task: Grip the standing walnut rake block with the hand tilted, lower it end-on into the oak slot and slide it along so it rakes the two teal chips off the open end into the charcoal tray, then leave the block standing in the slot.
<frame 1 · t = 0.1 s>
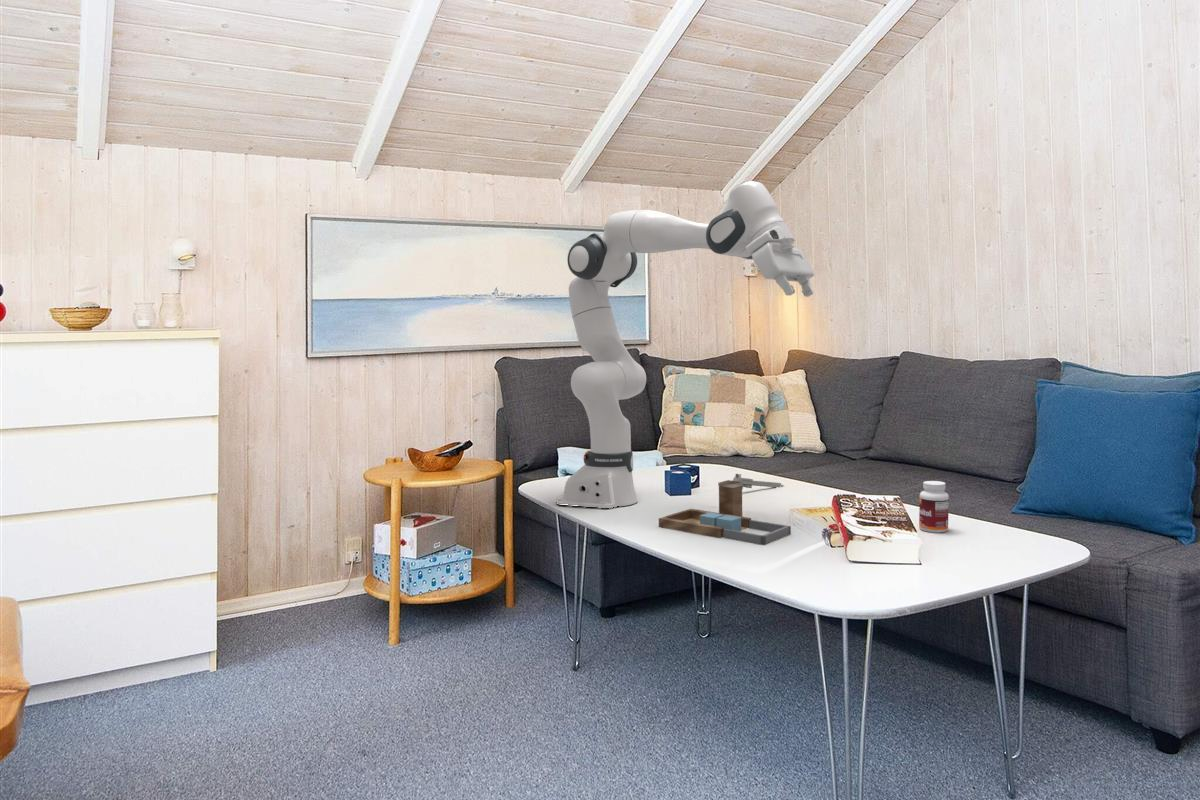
hand: (800, 294, 179), 54 cm above the table, tool tilted 30°, fingers open, 8 cm apart
caliper: (758, 492, 231), on the table
chip1: (711, 527, 183), point 1 cm above the table, touching slot board
pill bottle: (933, 530, 182), on the table
tray: (757, 541, 175), on the table
slot board: (704, 531, 184), on the table
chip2: (728, 530, 180), point 1 cm above the table, touching slot board
rake block: (730, 522, 192), on the table
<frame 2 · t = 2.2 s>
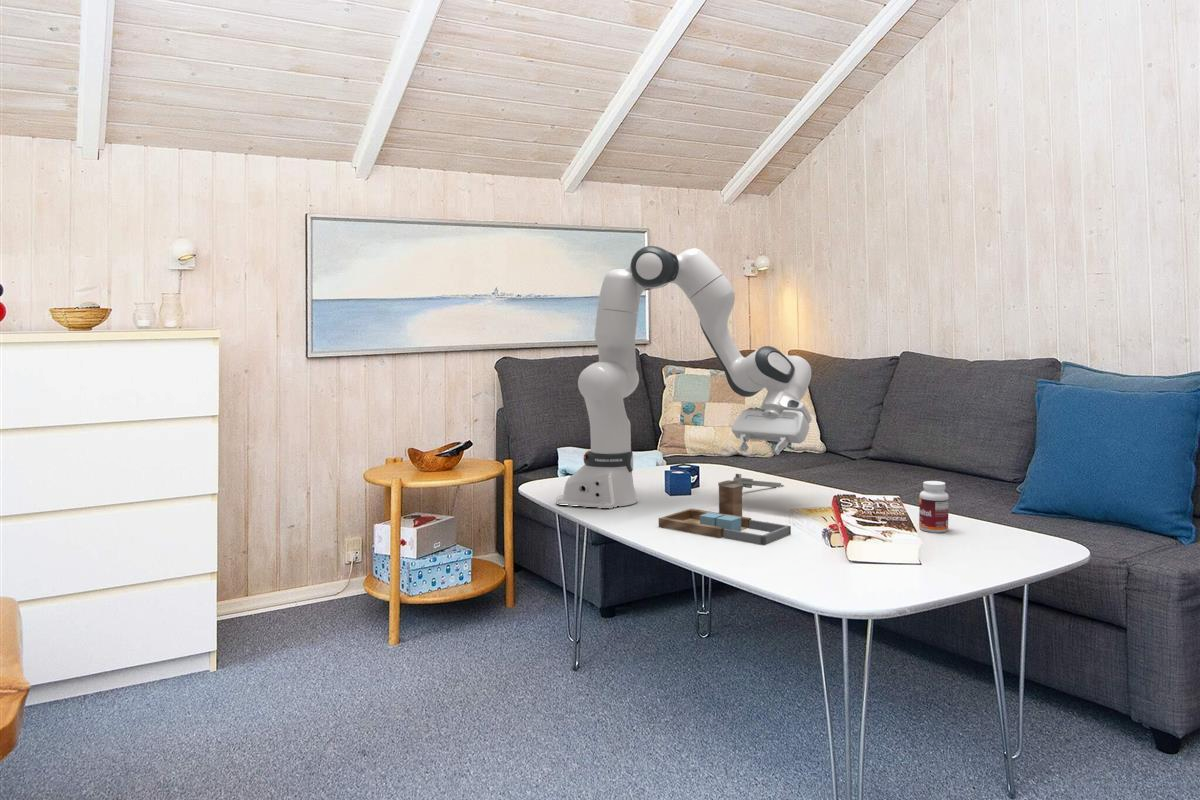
hand: (758, 451, 200), 16 cm above the table, tool tilted 45°, fingers open, 8 cm apart
nothing on the table moved.
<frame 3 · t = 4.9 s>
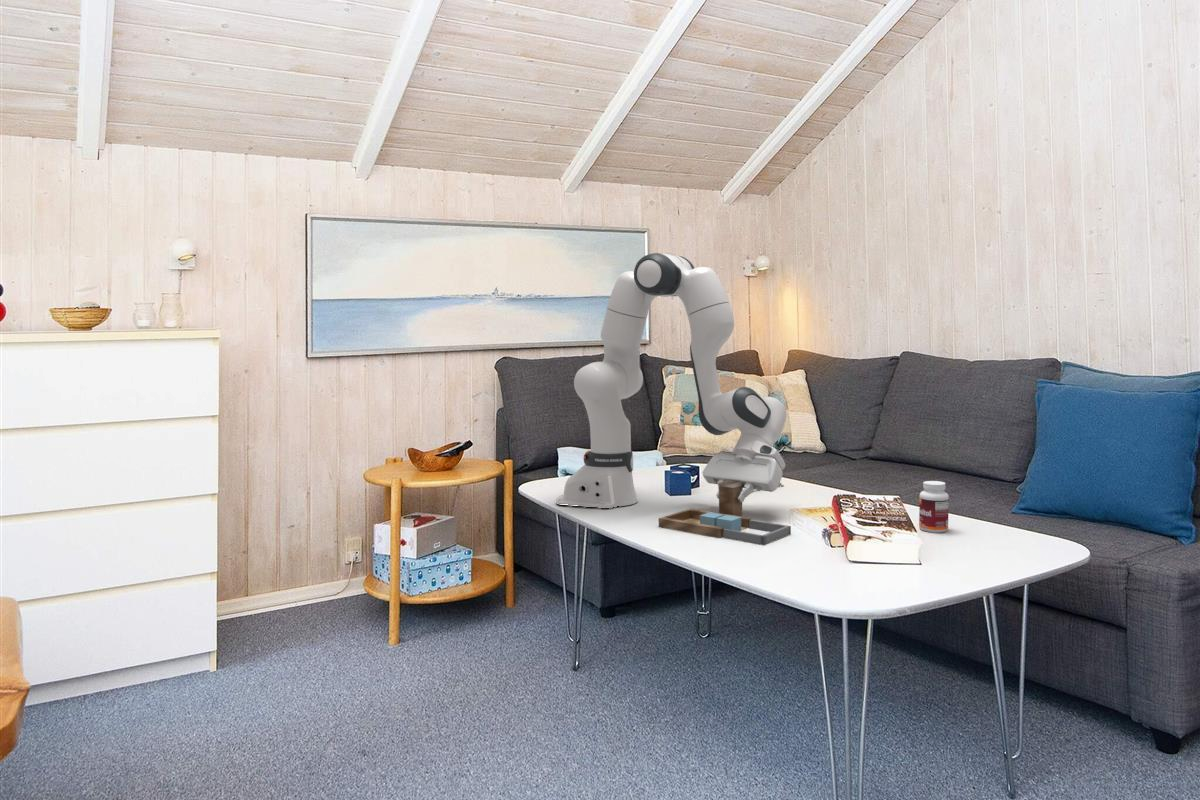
hand: (729, 499, 191), 6 cm above the table, tool tilted 45°, fingers closed on rake block, 4 cm apart
rake block: (730, 522, 192), on the table, touching gripper
everything else where it was.
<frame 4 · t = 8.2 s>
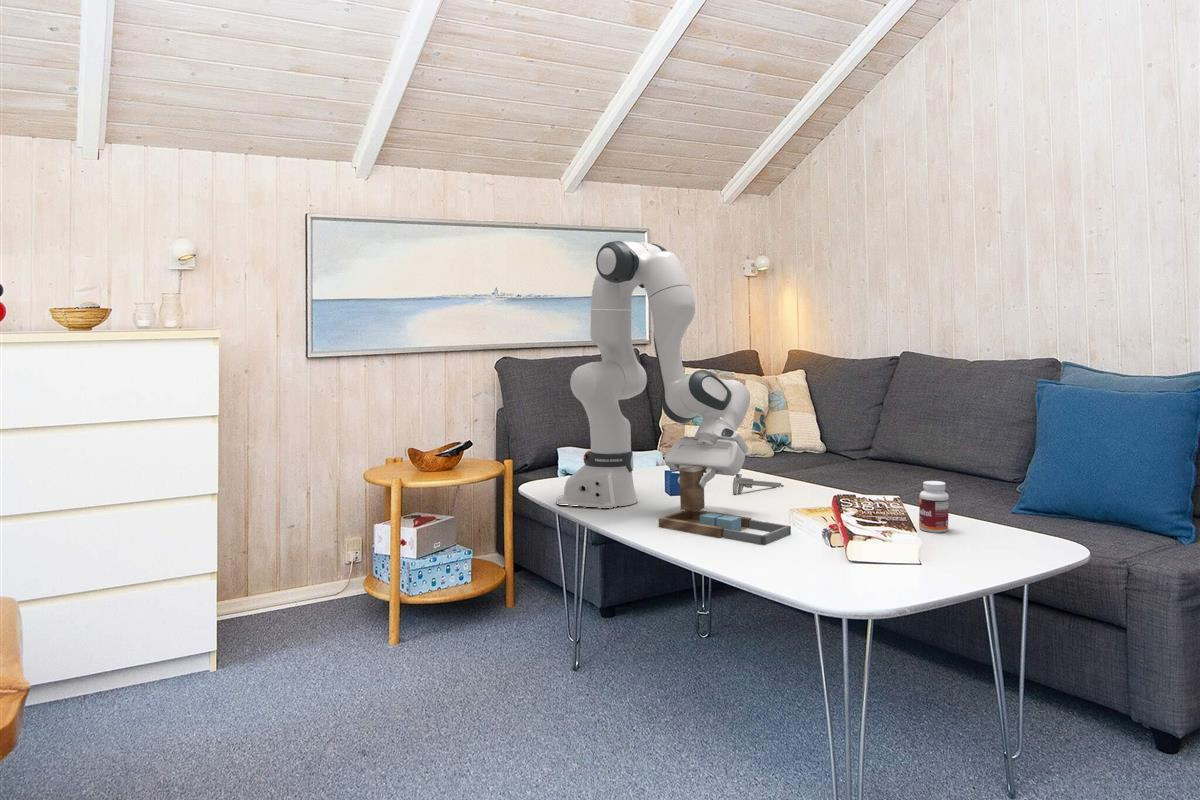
hand: (690, 484, 185), 11 cm above the table, tool tilted 45°, fingers closed on rake block, 4 cm apart
rake block: (692, 509, 186), point 5 cm above the table, touching gripper
everything else where it was.
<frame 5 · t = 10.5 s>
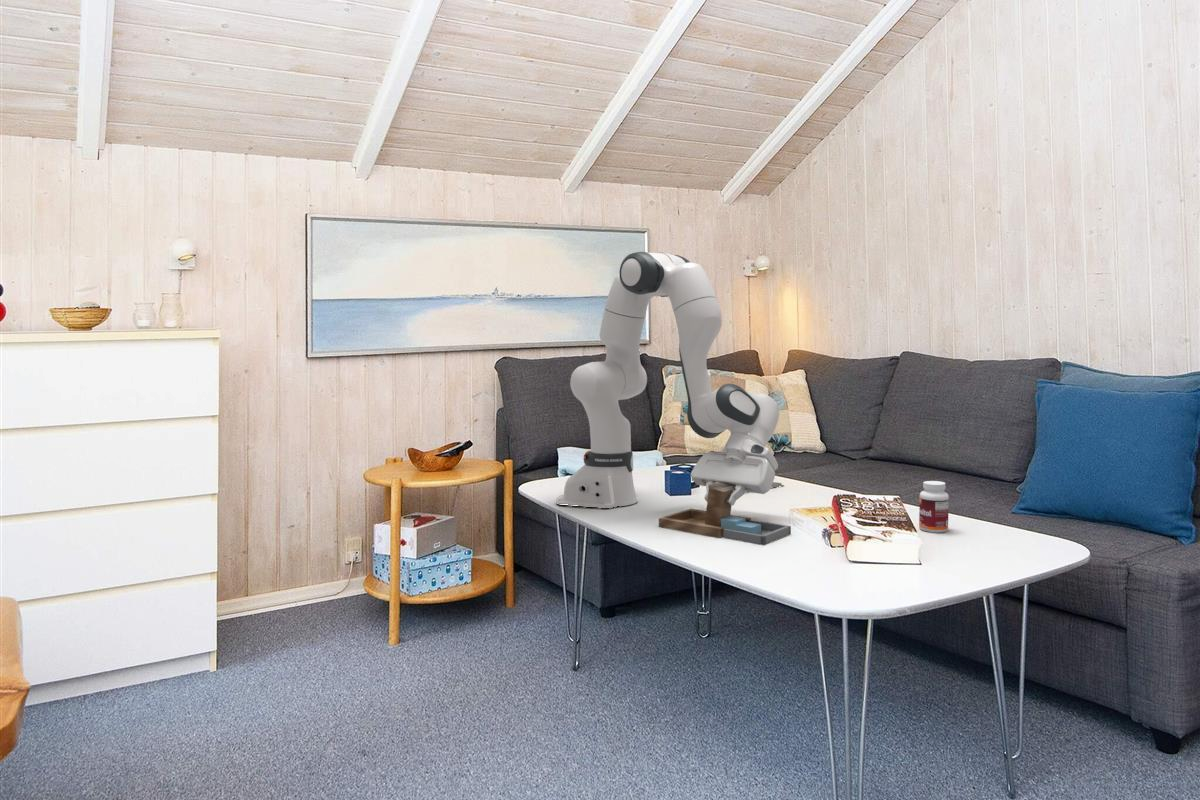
hand: (718, 502, 180), 8 cm above the table, tool tilted 45°, fingers closed on rake block, 4 cm apart
chip1: (733, 531, 179), point 1 cm above the table, touching rake block, slot board
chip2: (748, 537, 176), resting on tray
rake block: (716, 527, 182), point 2 cm above the table, tilted 7°, touching chip1, gripper
everything else where it was.
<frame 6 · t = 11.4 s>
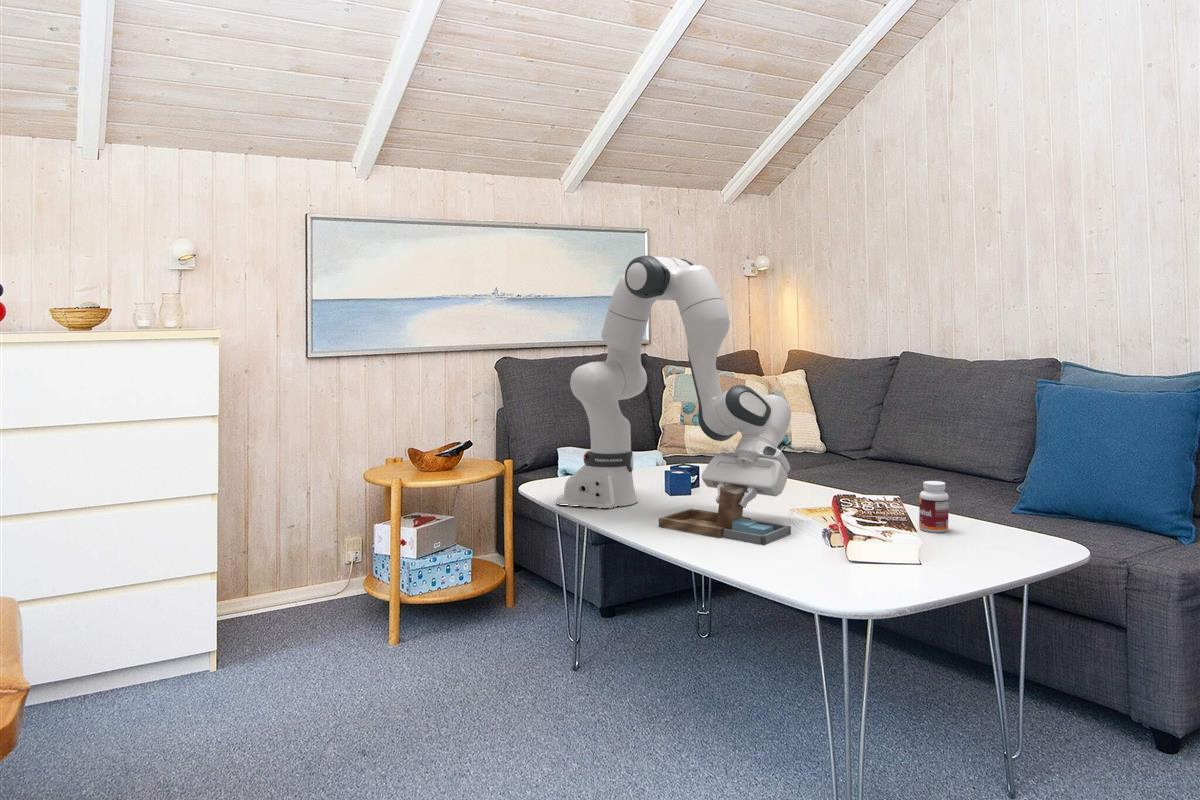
hand: (730, 504, 178), 8 cm above the table, tool tilted 45°, fingers closed on rake block, 4 cm apart
chip1: (743, 534, 177), point 1 cm above the table, tilted 7°, touching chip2, rake block, slot board
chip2: (760, 540, 174), resting on tray, touching chip1
rake block: (728, 529, 180), point 2 cm above the table, tilted 7°, touching chip1, gripper
everything else where it was.
when the fingers open (7 cm above the table, at t = 11.8 s): rake block stays where it is, resting on slot board.
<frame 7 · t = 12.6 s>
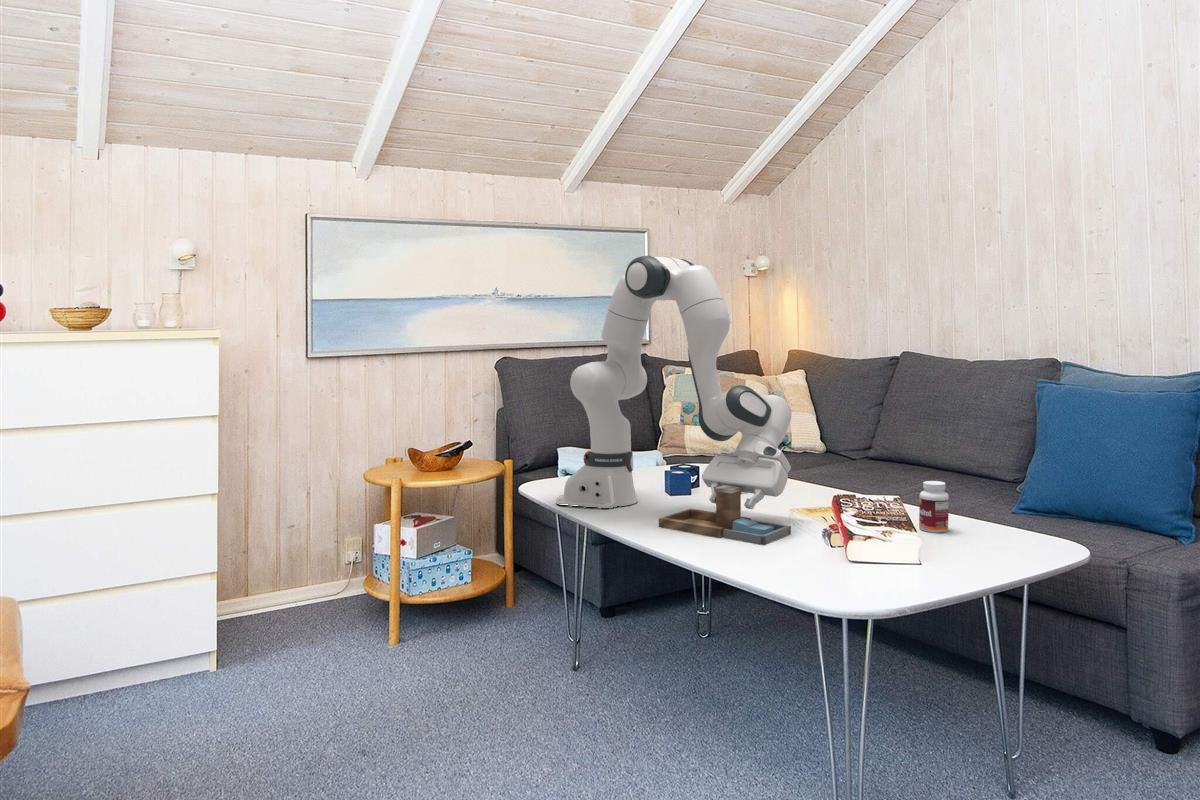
hand: (730, 504, 178), 7 cm above the table, tool tilted 45°, fingers open, 8 cm apart
chip1: (743, 534, 177), point 1 cm above the table, tilted 7°, touching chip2, slot board
rake block: (728, 530, 180), point 1 cm above the table, touching slot board
everything else where it was.
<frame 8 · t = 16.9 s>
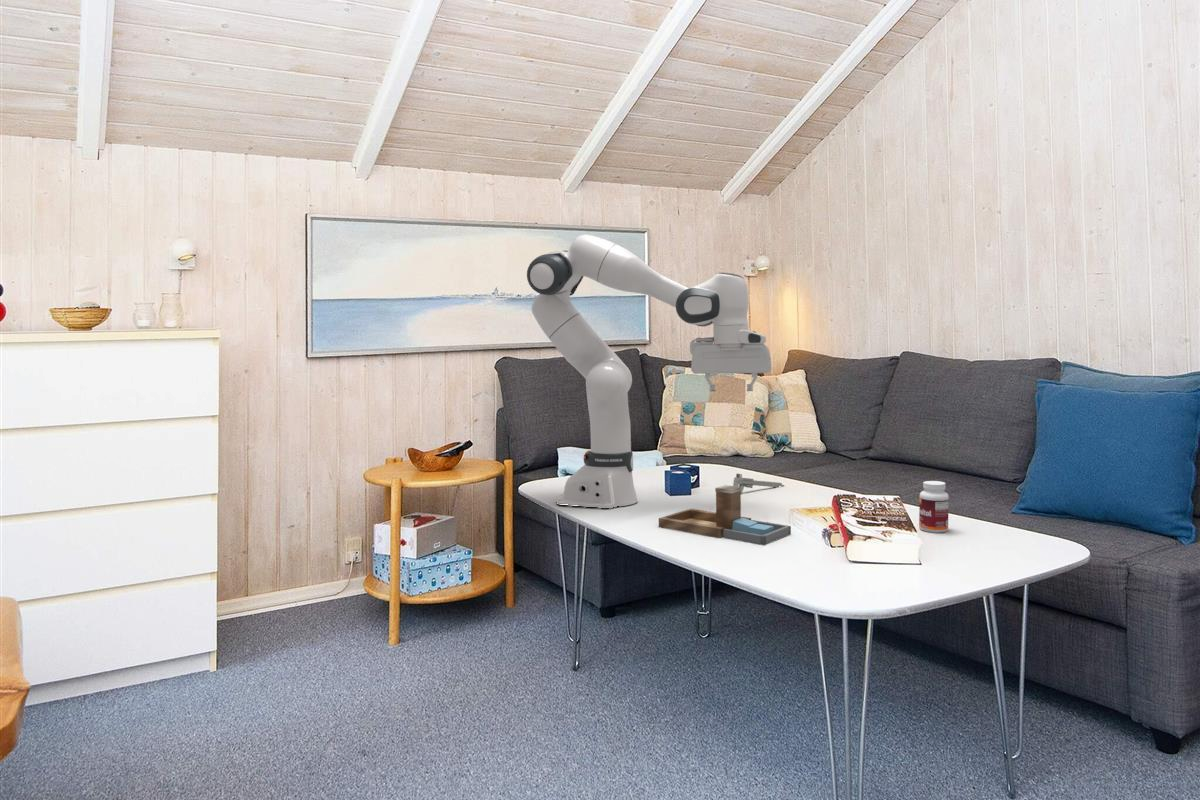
hand: (731, 391, 203), 31 cm above the table, tool pointing down, fingers open, 8 cm apart
nothing on the table moved.
at the end: chip1 3.3 cm from the tray (horizontally); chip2 1.0 cm from the tray (horizontally); rake block tilted 0° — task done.
